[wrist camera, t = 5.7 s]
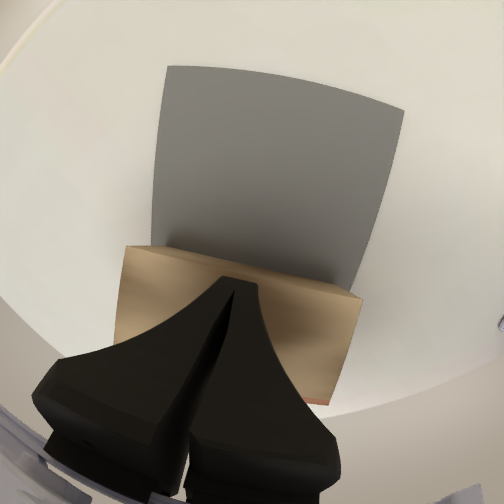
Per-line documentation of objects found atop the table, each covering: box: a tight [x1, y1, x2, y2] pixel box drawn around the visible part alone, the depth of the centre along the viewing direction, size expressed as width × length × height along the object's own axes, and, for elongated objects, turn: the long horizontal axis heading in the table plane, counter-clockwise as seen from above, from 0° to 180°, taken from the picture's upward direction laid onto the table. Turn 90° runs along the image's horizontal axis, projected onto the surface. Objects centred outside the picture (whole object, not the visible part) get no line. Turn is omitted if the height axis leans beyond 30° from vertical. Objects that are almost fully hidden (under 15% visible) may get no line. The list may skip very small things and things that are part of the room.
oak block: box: [114, 246, 363, 406], centre depth 13 cm, size 10×5×5 cm
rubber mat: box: [151, 66, 404, 292], centre depth 16 cm, size 12×21×1 cm, turn 169°
